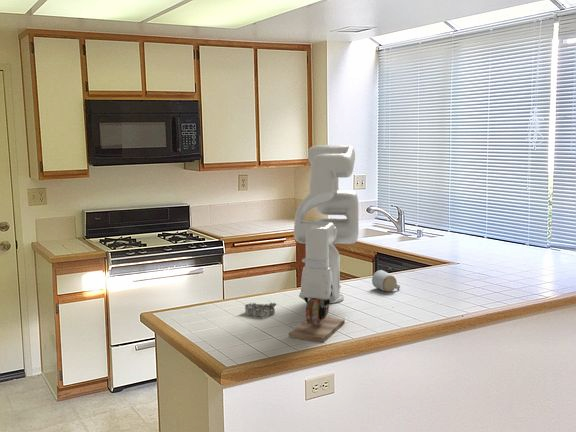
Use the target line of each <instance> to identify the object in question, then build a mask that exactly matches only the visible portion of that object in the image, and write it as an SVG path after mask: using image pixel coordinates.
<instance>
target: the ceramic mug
mask: <svg viewBox="0 0 576 432" xmlns="http://www.w3.org/2000/svg"><path fill="white" fill-rule="evenodd" d="M371 282H372V285H373V287H375V288H376V289H379V290H380V291H383V292H385V293H386V292H387V293H389V292H393V291H394V290H395V289H397V290H400V287H401V285H400V284H397V283H398V282H397V278H396V277H395V276H394V275H393V274H391V273H389V272H387V271H385V270H383V269H379V270H376V272H374V273H373V274H372V278H371Z"/></svg>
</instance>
